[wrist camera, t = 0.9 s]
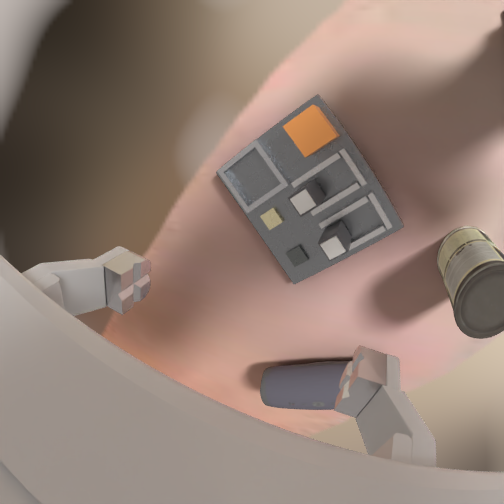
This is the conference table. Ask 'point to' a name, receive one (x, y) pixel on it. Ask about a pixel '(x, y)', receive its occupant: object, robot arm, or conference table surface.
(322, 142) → the orange block
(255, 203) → the panel
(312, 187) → the block
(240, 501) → the robot arm
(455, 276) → the coffee can
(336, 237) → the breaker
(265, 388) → the bluetooth speaker
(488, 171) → the conference table surface
